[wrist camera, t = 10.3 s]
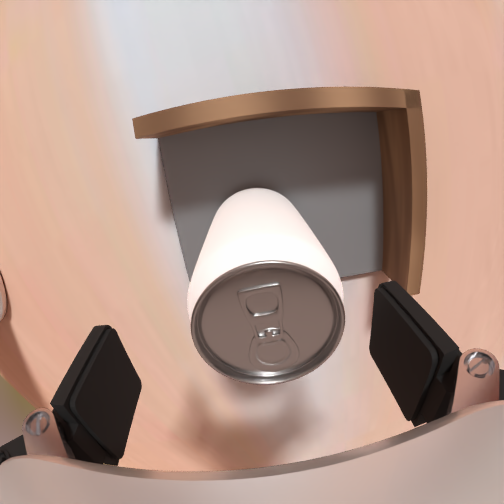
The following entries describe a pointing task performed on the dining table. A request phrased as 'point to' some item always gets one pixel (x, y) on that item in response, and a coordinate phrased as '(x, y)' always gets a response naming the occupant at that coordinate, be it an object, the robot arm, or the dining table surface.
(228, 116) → the corner walls
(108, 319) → the dining table surface
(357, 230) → the mat
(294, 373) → the can
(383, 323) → the robot arm
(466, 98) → the dining table surface
